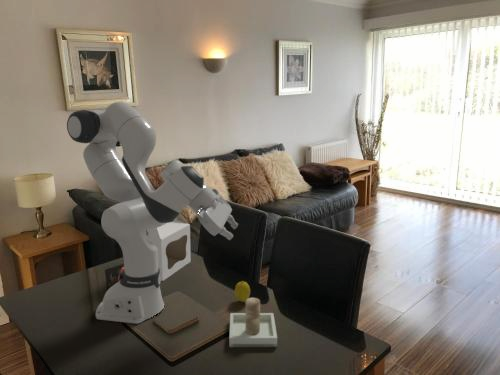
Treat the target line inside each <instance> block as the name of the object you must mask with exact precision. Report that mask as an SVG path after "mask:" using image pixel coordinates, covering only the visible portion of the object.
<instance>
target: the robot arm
mask: <svg viewBox="0 0 500 375" xmlns="http://www.w3.org/2000/svg"><path fill="white" fill-rule="evenodd" d="M66 130H67V133H68V135H69V137H70V138H71V139H72V141H74V142H76V143H79V144H88V145H86V146H85V148H84V149H83V152H82V153H83V155H82V156H83V159H84V162H85V165H86V167H87V170H88V171H89V173H90V175H91V176H92V178H93V180H94V181H95V183H96V184H97V186H98V187H99V189H100V190H101V192H102V193H103V196H105V197H106V198H108V199H109V200H113V201H117V202H118V203H116V204H113V205H112V206H110V207H108V208H106V209H104V210H103V212H102V215H101V220H100V221H101V222H100V223H101V227H102V230H103V232H104V233H105V234H106V235H107V236H108V237H110V238H111V239H114V240H115V241H116V242H117V243H118V244H119V247H120V248H121V251H122V257H123V258H122V259H123V266H122V267H121V269H120V271H119V273H118V277H117V281H118V282H116V283H115V284H113V285H112V286H111V287H109V288H108V289H107V291H105V293H104V296H103V299H102V302H100V303H99V304H98V306H97V308H96V310H95V318H96V320H99V321H100V320H101V321H109V322H110V321H111V322H116V323H117V322H120V323H128V324H137V325H138V324H140V323H143V322H145V321H146V320H148V319H152V318H154V317H155V316H154V315H156V314H157V313H159V312H160V311H161V310H162V309H163V308H164V305H165V302H164V300H163V297H162V296H163V295H162V292H161V282H162V281H161V278H160V269H159V267H158V250H157V247H156V246H155V245H154V244H153V243H152V242H150V241H147V240H146V238H145V231H146V230H149V229H152V228H155V227H158V226H160V225H162V224H163V223H169V222H173V221H174V220H175V219H177V218H176V217H177V216H178V215H179V214H180V212H181V213H182V211H183V210H185V208H186V207H188V208H190V210H192V212H193V213H194V214H195V215H196V216H197V217H198V222H200V224H201V225H202V226H203V227H204V229H205V230H206V231H207V232H208V233H209V234H211V235H212V236H214V237H215V236H216V235H218V234H219V235H221V236H223V237H225V238H226V239H227V240H228V241H231V240H232V239H233V238H234V234H233V233H232V232H231V231H228V230H227V229H226V227H225V224H226V222H228V224H229V225H230V227H231V228H232V229H233V230H236V229H237V228H238V226H239V223H238V222H236V221H235V218H234V216H233V215H232V214H231V213H232V211H233V209H232V207H231V205H230V204H229V203H228V201H227V200H226V199H225V198H224V197H223V196H222V195H220V192H219V190H217V188H210V187H209V186H208V185H207V184H205V183H204V182H205V181H204V176H202V175H201V174H200V173H199V172H198V171H197V169H195V168H194V166H193V165H186V164H185V163H183V162H181V161H180V160H179V159H175V160H172V161H170V162H169V163H168V164H167V165H166V166H165V167H164V168H163V169H162V171H161V173H160V177H161V178H162V179H163V181H164V182H163V183H162V184H161V185H160V186H159V187H157V189H155V187H154V186H153V185H152V182H151V181H150V179H149V177H148V176H147V174H146V167H147V163H148V162H149V159H150V156H151V155H152V153H153V151H154V149H155V146H156V144H157V134H156V130H155V129H154V127H153V125H151V123H150V122H149V121H148V120H147V118H145V116H143V115H142V114H141V113H140V112H139V111H138V110H137V109H135V108H134V107H133V106H131V105H130V104H128V103H127V102H124V101H115V102H113V103H111V104H110V105H108V106H107V107H106V108H105V109H102V108H101V109H89V110H88V109H87V110H86V109H79V110H76V111H73V112H72V113H70V114H69V116H68V118H67V120H66ZM117 147H121V148H122V158H121V156H120V155H119V154H118V152H117ZM164 309H165V308H164ZM153 316H154V317H153ZM151 317H152V318H151Z"/></svg>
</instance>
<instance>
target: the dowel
mask: <svg viewBox="0 0 500 375" xmlns="http://www.w3.org/2000/svg"><path fill="white" fill-rule="evenodd" d="M245 313H246V326H245V331H246V333H248V334H250V335H255V334H258V333H259V332H260V313H261V300H260V298H257V297H249V298H248V299H247V300H246V301H245Z"/></svg>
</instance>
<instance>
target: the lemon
mask: <svg viewBox="0 0 500 375" xmlns="http://www.w3.org/2000/svg"><path fill="white" fill-rule="evenodd" d="M250 295H251V288H250V285H249V284H248V282H247V281H244V280H242V281H239V282H237V283H236V285H235V289H234V297H235V298H236V300H238V302H241V303H244V302H246V300H247V299H248V298H250Z"/></svg>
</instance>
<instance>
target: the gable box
mask: <svg viewBox="0 0 500 375" xmlns="http://www.w3.org/2000/svg"><path fill="white" fill-rule="evenodd" d="M145 238H146V240H147V241H150V242H152V243H153V244H154V245H155V246H156V247H157V250H158V267H159V269H160V278H161V282H164V281H165V280H167V279H168V278H169V277H171V276H172V275H174V274H175V273H176V272H179V270H181V269H182V268H184V267H185V266H186V265H188V264H190V263H191V261H192V260H191V259H192V258H191V257H192V256H191V224H190V223H189V221H188V220H187V219H186V217H185V215H184V214H183V212H182V211H181V212H180V214H179V215H178V216H177V217H176V219H175V220H174V221H173V222H169V223H163V224H162V225H160V226H158V227H155V228H152V229H149V230H146V231H145Z"/></svg>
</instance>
